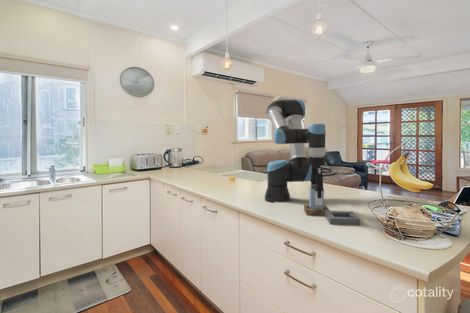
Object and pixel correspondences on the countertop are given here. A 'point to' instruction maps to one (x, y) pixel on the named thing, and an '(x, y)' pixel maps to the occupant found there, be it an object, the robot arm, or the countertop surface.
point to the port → (342, 218)
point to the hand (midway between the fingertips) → (316, 200)
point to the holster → (315, 211)
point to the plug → (314, 198)
